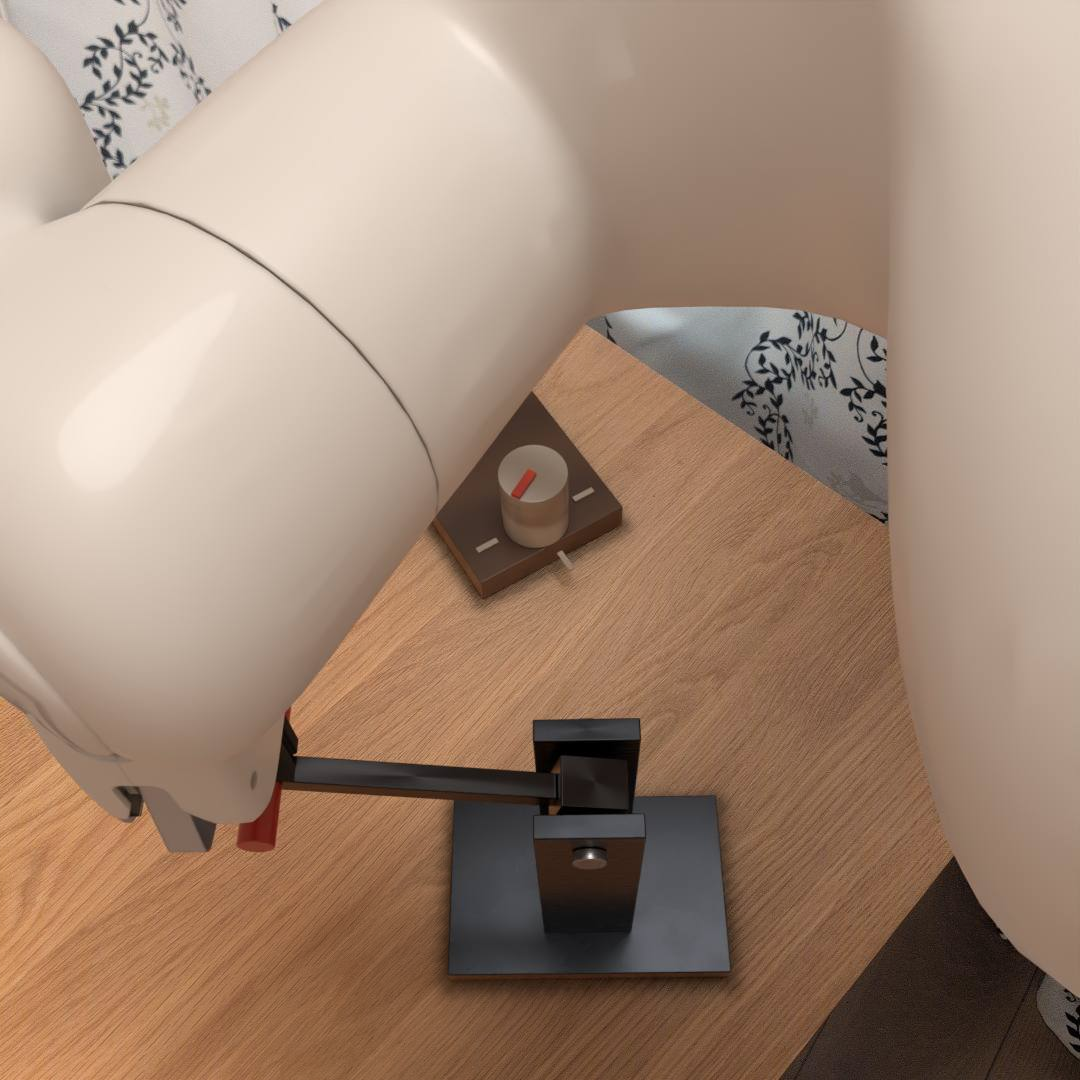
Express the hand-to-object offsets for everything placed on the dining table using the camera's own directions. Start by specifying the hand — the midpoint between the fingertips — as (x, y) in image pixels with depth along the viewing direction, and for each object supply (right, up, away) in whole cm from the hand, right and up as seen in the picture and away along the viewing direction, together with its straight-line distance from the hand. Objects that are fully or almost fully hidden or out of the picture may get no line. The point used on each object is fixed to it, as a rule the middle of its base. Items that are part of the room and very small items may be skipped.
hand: (256, 762), depth 44 cm
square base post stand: (+13, -10, +16) cm, 23 cm away
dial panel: (+8, +13, +30) cm, 33 cm away
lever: (+7, -2, +3) cm, 7 cm away
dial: (+11, +10, +25) cm, 29 cm away
